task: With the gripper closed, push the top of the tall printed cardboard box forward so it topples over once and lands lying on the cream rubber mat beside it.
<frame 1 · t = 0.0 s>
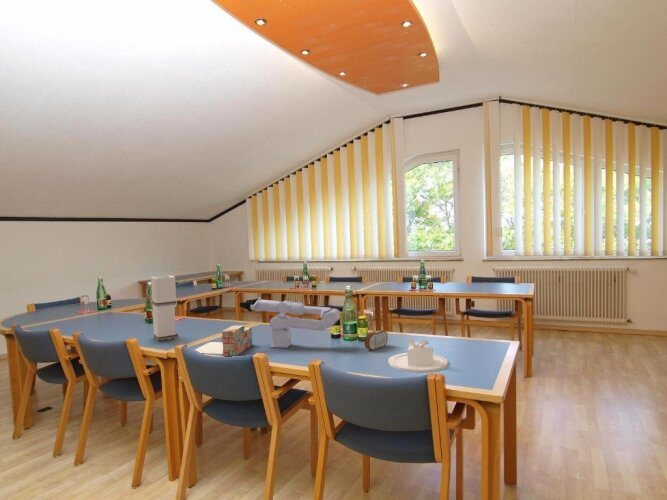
hand: (243, 303, 222), 22 cm above the table, tool horizontal, fingers open, 7 cm apart
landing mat: (215, 348, 218), on the table
white mini fridge: (165, 337, 246), on the table
dish: (417, 363, 182), on the table
slice of bread: (377, 348, 207), on the table
printed cardboard box: (238, 350, 213), on the table
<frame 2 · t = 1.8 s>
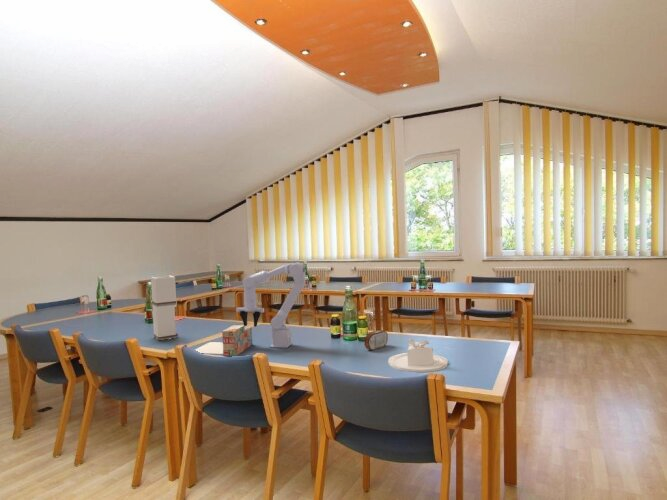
hand: (250, 325, 219), 10 cm above the table, tool pointing down, fingers open, 5 cm apart
nothing on the table moved.
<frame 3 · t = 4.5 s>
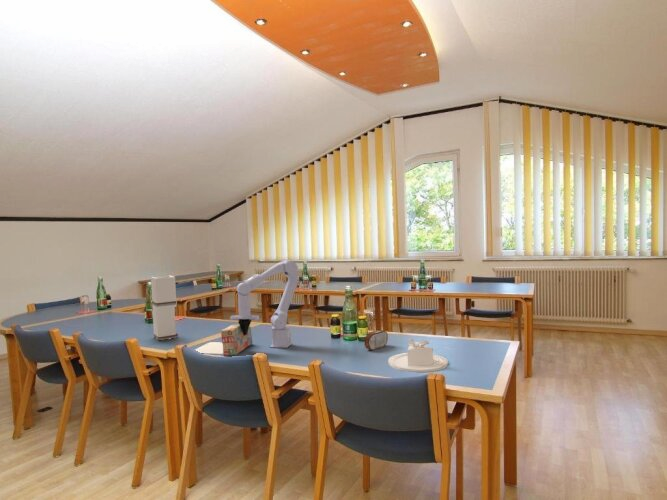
hand: (245, 334, 212), 8 cm above the table, tool pointing down, fingers closed
printed cardboard box: (238, 349, 214), on the table, touching gripper
everything else where it was.
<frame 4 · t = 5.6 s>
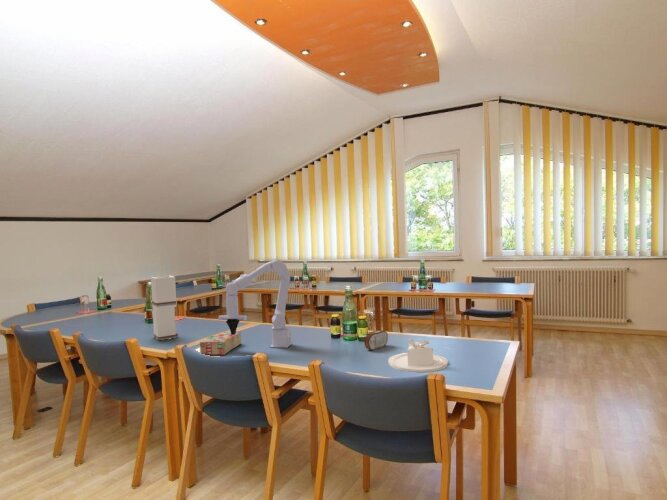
hand: (233, 334, 213), 8 cm above the table, tool pointing down, fingers closed
printed cardboard box: (233, 342, 214), point 3 cm above the table, touching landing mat
everything else where it was.
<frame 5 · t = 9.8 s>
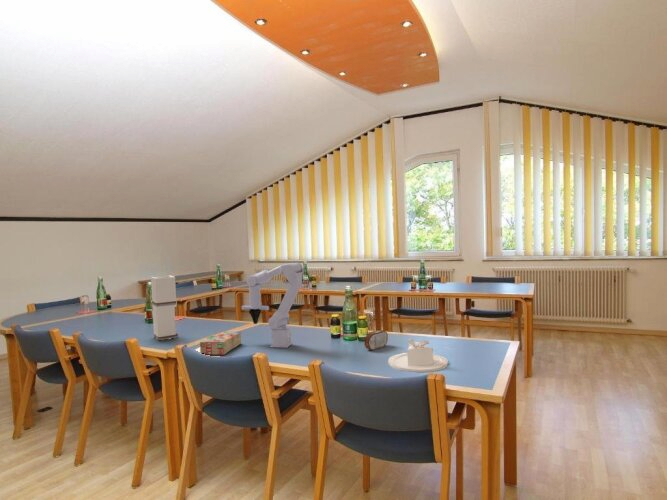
hand: (255, 323, 225), 10 cm above the table, tool pointing down, fingers closed
nothing on the table moved.
at the end: printed cardboard box tilted 90°; printed cardboard box touching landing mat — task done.
